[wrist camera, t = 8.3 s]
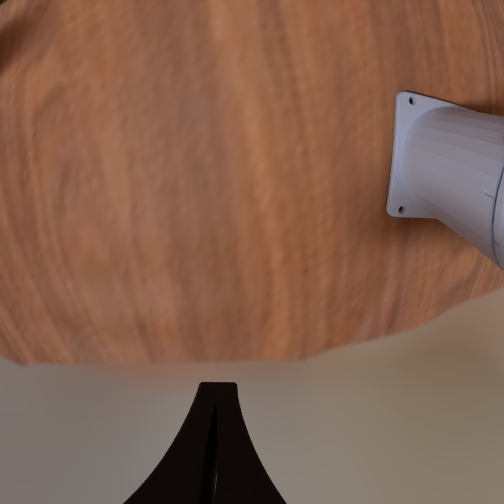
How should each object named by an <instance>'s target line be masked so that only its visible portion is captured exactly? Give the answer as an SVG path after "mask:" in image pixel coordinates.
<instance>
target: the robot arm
mask: <svg viewBox="0 0 504 504" xmlns="http://www.w3.org/2000/svg"><path fill="white" fill-rule="evenodd" d="M410 97H411V98H412V99H413V103H412V104H410V103H409V98H410ZM401 206H402V207H403V208H402V210H401V211H400V212H399V211H398V210H399V208H400V207H401ZM386 211H387V213H388V214H389V215H391V216H392V217H411V218H435V219H438V220H439V221H441V222H442V223H444V224H445V225H446V226H448V227H449V228H450V229H452V230H453V231H455V232H456V233H457V234H459V235H460V236H461V237H462V238H464V239H465V240H466V241H468V242H469V243H470V244H472V245H473V246H474V247H475V248H477V249H478V250H479V251H480V252H482V253H483V254H484V255H485V256H486V257H488V258H489V259H490V260H491V261H492V262H494V263H495V264H496V265H497V266H498V267H500V268H501V269H502V270H503V271H504V117H503V116H498V115H492V114H487V113H480V112H476V111H473V110H470V109H467V108H464V107H461V106H458V105H455V104H452V103H448V102H445V101H441V100H438V99H434V98H430V97H426V96H422V95H418V94H414V93H410V92H399V93H398V94H397V96H396V112H395V131H394V145H393V157H392V167H391V176H390V185H389V193H388V200H387V207H386ZM216 475H217V477H216ZM215 485H216V490H215ZM123 504H287V503H286V502H285V501H284V499H283V498H282V496H281V495H280V493H279V492H278V491H277V489H276V487H275V486H274V484H273V483H272V481H271V479H270V478H269V476H268V474H267V472H266V470H265V469H264V467H263V465H262V463H261V461H260V459H259V457H258V455H257V453H256V451H255V449H254V446H253V444H252V441H251V439H250V437H249V434H248V431H247V428H246V425H245V422H244V420H243V416H242V412H241V409H240V404H239V399H238V390H237V384H236V383H234V382H201V383H200V384H199V387H198V390H197V393H196V396H195V399H194V401H193V404H192V406H191V408H190V411H189V413H188V415H187V417H186V419H185V421H184V423H183V425H182V427H181V429H180V431H179V432H178V434H177V436H176V438H175V439H174V441H173V443H172V444H171V446H170V448H169V449H168V451H167V452H166V454H165V455H164V457H163V459H162V460H161V461H160V462H159V464H158V465H157V467H156V468H155V469H154V471H153V472H152V473H151V474H150V475H149V477H148V478H147V479H146V480H145V482H144V483H143V484H142V485H141V486H140V487H139V488H138V489H137V490H136V491H135V492H134V493H133V494H132V495H131V496H130V498H128V499H127V500H126V502H124V503H123Z"/></svg>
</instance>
